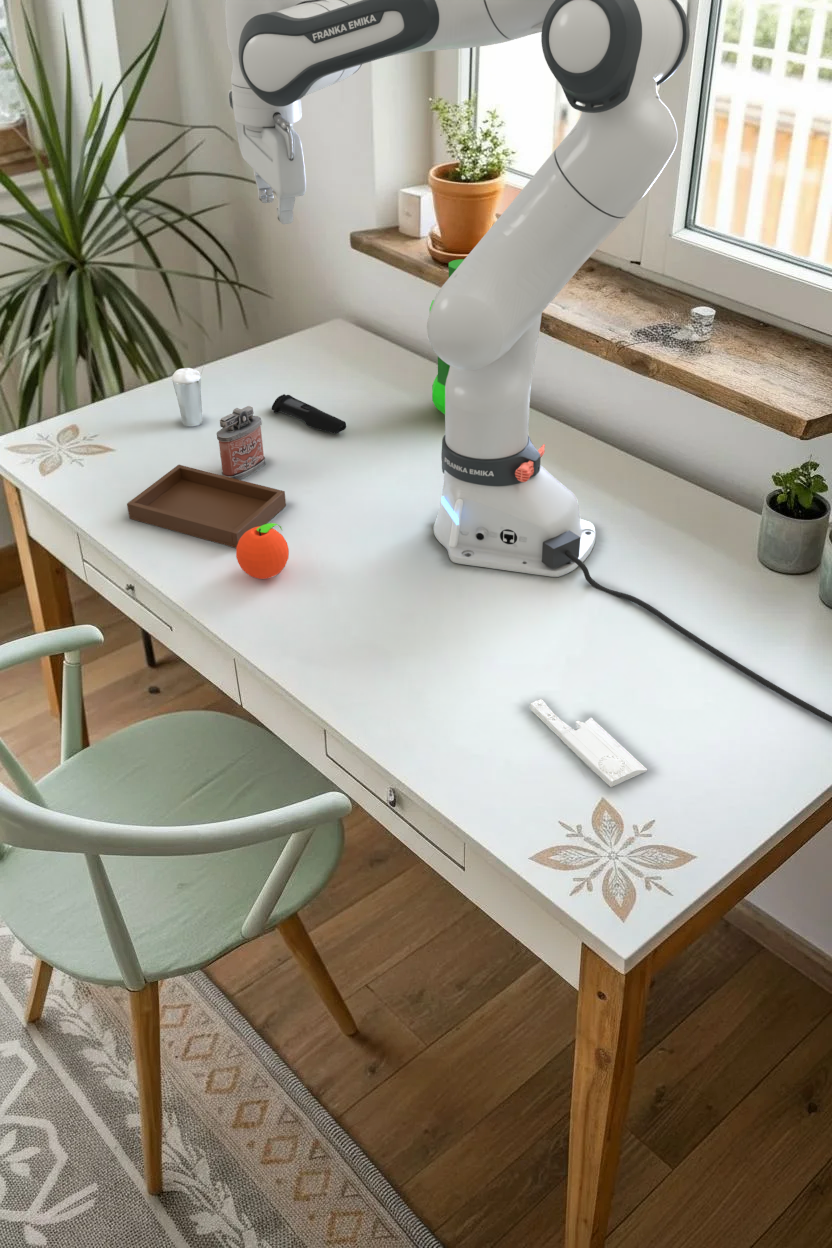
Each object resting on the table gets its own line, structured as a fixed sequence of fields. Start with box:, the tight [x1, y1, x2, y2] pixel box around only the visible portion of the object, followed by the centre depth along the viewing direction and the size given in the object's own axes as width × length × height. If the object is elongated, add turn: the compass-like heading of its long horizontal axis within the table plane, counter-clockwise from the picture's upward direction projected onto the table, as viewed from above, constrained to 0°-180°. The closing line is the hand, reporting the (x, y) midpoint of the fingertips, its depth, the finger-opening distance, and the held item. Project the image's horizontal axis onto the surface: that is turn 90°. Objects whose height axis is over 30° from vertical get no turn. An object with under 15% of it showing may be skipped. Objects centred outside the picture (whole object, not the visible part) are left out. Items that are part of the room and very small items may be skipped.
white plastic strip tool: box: [529, 698, 648, 788], centre depth 134 cm, size 5×15×1 cm, turn 30°
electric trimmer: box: [271, 393, 347, 435], centre depth 196 cm, size 4×16×3 cm, turn 47°
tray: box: [126, 464, 287, 549], centre depth 174 cm, size 19×13×2 cm
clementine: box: [235, 522, 290, 580], centre depth 160 cm, size 8×7×7 cm
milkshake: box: [171, 365, 205, 428], centre depth 195 cm, size 4×5×10 cm
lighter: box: [216, 405, 267, 480], centre depth 182 cm, size 8×3×10 cm, turn 141°
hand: (275, 211), depth 166 cm, fingers open, 8 cm apart
